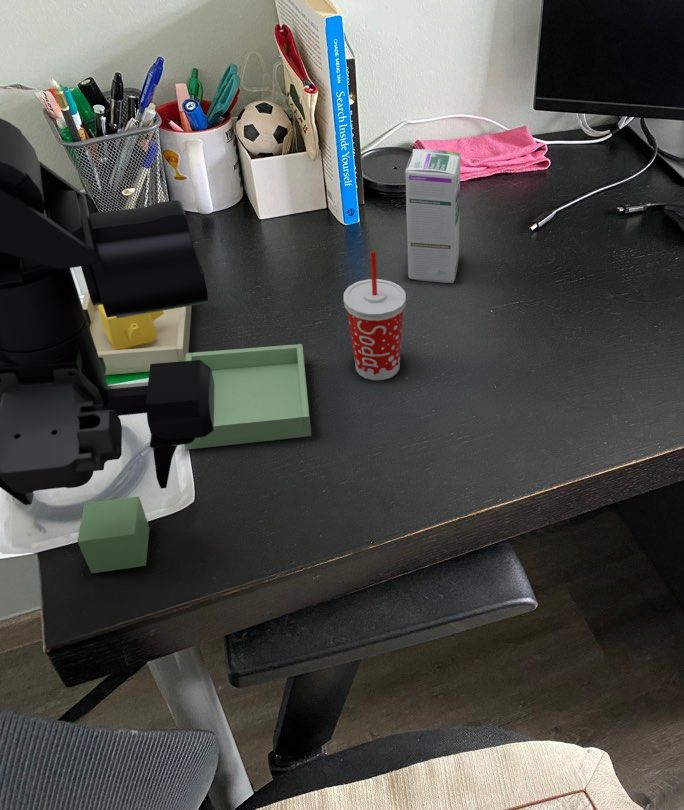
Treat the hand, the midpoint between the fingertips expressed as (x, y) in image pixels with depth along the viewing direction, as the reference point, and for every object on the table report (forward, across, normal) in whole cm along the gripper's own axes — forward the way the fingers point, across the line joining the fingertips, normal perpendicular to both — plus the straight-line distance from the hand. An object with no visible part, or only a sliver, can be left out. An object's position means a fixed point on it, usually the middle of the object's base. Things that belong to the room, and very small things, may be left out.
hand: (98, 492), depth 62 cm
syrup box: (+7, +32, +38) cm, 50 cm away
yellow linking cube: (+6, 0, +28) cm, 29 cm away
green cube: (+7, 0, 0) cm, 7 cm away
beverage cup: (+7, +23, +20) cm, 32 cm away
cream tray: (+7, -1, +28) cm, 29 cm away
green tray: (+7, +10, +16) cm, 20 cm away
